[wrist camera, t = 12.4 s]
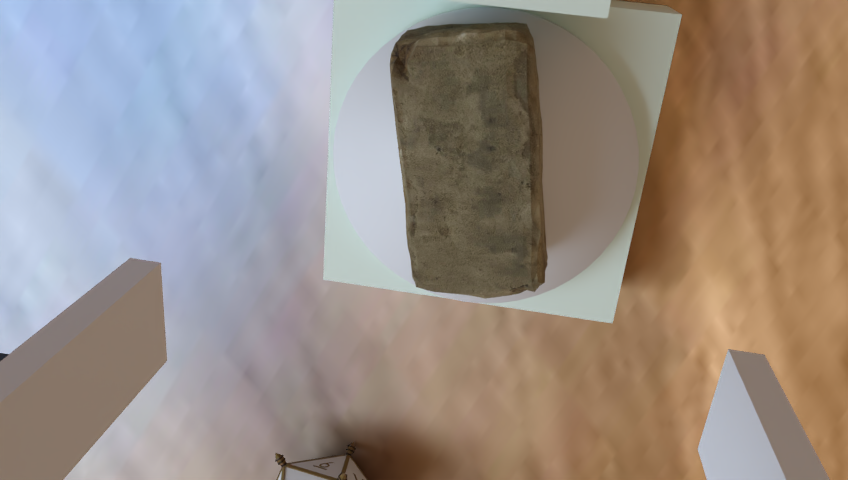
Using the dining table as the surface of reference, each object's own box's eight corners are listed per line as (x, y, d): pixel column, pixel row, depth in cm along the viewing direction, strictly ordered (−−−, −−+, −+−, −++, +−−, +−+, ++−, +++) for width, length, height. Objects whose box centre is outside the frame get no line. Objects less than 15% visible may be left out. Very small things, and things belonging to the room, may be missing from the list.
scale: (358, -86, 34) (301, -91, 26) (680, -54, 33) (725, -49, 25) (342, 249, 42) (293, 327, 33) (606, 287, 40) (622, 379, 32)
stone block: (536, 9, 30) (535, 24, 26) (549, 259, 35) (550, 309, 30) (400, 23, 31) (376, 40, 27) (430, 264, 36) (414, 313, 31)
